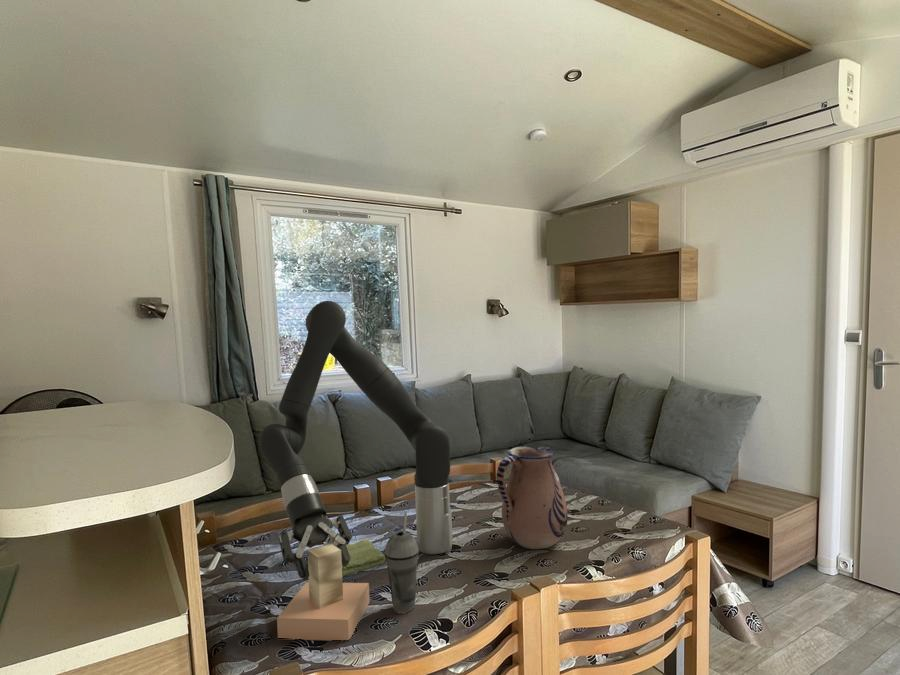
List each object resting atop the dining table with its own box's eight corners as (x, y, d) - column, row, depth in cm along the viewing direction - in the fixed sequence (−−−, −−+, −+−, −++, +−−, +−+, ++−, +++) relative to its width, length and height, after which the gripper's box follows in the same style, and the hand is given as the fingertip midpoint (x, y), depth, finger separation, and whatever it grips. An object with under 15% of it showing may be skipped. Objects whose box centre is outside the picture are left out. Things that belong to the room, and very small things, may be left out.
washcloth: (305, 565, 127) (304, 552, 128) (370, 548, 136) (369, 536, 136) (319, 586, 116) (318, 572, 116) (389, 565, 125) (388, 552, 125)
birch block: (332, 590, 105) (330, 542, 105) (343, 599, 101) (341, 550, 101) (309, 599, 102) (307, 550, 102) (320, 608, 98) (317, 557, 98)
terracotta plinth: (369, 601, 107) (368, 583, 107) (348, 641, 93) (348, 619, 93) (307, 600, 109) (306, 582, 109) (277, 639, 95) (277, 618, 95)
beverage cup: (387, 599, 108) (383, 507, 108) (421, 597, 108) (417, 505, 108) (385, 618, 100) (381, 519, 100) (421, 615, 101) (417, 516, 101)
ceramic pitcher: (581, 540, 135) (577, 447, 135) (537, 568, 119) (533, 464, 119) (527, 525, 147) (523, 440, 147) (481, 549, 131) (477, 455, 131)
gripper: (273, 499, 103) (297, 574, 94) (337, 484, 111) (364, 551, 102) (266, 518, 107) (288, 591, 98) (328, 502, 116) (353, 568, 107)
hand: (327, 571), depth 100 cm, fingers open, 8 cm apart
